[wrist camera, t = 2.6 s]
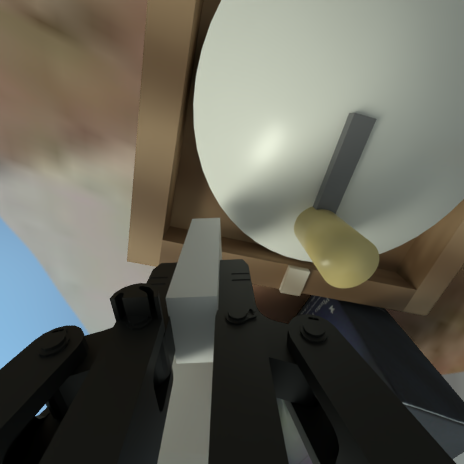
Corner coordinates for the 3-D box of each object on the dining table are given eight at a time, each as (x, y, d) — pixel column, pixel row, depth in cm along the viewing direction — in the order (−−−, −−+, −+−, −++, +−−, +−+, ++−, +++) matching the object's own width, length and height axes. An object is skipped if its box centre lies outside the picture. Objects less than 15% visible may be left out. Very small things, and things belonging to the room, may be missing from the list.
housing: (191, -222, 10) (174, -409, 7) (599, -43, 13) (743, -109, 9) (143, 238, 19) (124, 264, 15) (395, 287, 21) (430, 319, 18)
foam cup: (259, 316, 22) (301, 535, 10) (230, 380, 26) (235, 600, 14) (156, 293, 21) (67, 517, 9) (140, 365, 24) (60, 594, 12)
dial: (236, -147, 10) (255, -538, 4) (562, -14, 12) (887, -147, 6) (177, 222, 17) (151, 276, 11) (395, 267, 19) (476, 333, 13)
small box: (320, 273, 21) (404, 402, 11) (379, 298, 22) (501, 432, 12) (262, 354, 24) (287, 503, 15) (316, 371, 26) (371, 518, 16)
